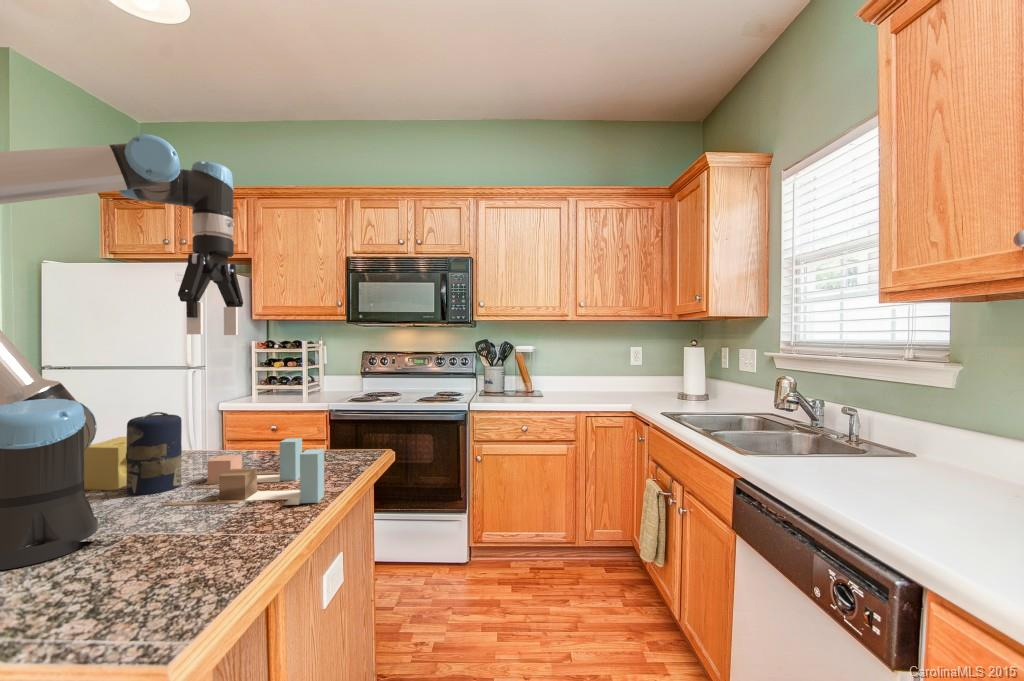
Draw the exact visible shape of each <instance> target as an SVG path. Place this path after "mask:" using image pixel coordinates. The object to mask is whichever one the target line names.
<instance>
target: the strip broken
mask: <svg viewBox="0 0 1024 681" xmlns="http://www.w3.org/2000/svg"><path fill="white" fill-rule="evenodd" d="M301 453H303V437H298V438H297V437H295V438H292V437H291V438H288V437H287V438H285V439H282V440H281V441H279V472H280V474H266V475H257V483H279V482H282V481H283V482H287V481H288V482H289V481H298V479H300V454H301ZM212 484H213V485H214V484H218V485H219V483H207V482H204V485H212Z"/></svg>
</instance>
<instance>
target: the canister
mask: <svg viewBox="0 0 1024 681" xmlns="http://www.w3.org/2000/svg"><path fill="white" fill-rule="evenodd" d="M182 420H183V419H182V417H181V416H180V415H177V414H169V413H167V412H164V411H163V412H162V411H161V412H160V411H155V412H151V413H149V414H147V415H144V416H137V417H134V418H131V419H130V420H128V422H127V423H126V437H127V451H126V459H127V471H126V472H127V485H126V494H127V495H129V496H134V497H135V496H136V497H139V496H150V495H157V494H161V493H166V492H170V491H172V490H176V489H177V488H180V487H181V486H182V458H183V456H182V455H183V454H182V450H183V448H182V447H183V446H182V432H183V431H182V428H183V427H182V426H183V425H182V423H183V422H182Z"/></svg>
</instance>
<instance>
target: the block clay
mask: <svg viewBox="0 0 1024 681" xmlns="http://www.w3.org/2000/svg"><path fill="white" fill-rule="evenodd" d="M206 462H207V464H206V466H207V469H206V470H207V477H206V478H207V482H206V483H219V476H220V475H221V474H223V473H225V472H227V471H229V470H231V469H242V468H243V455H242V454H229V455H227V454H223V455H218V456H215V457H214V458H211V459H209V460H207V461H206Z"/></svg>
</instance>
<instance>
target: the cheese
mask: <svg viewBox="0 0 1024 681" xmlns="http://www.w3.org/2000/svg"><path fill="white" fill-rule="evenodd" d="M126 451H127V436H117V437H116V438H112V439H108V440H106V441H100V442H98V443H91V445H90V446H89V447H88V448H87V449H86V450H85V451H84V489H85V490H86V491H87V490H91V491H92V490H93V491H94V490H95V491H115V490H118V489H120V488H123V487H125V486H127V472H126V471H127V459H126Z"/></svg>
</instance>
